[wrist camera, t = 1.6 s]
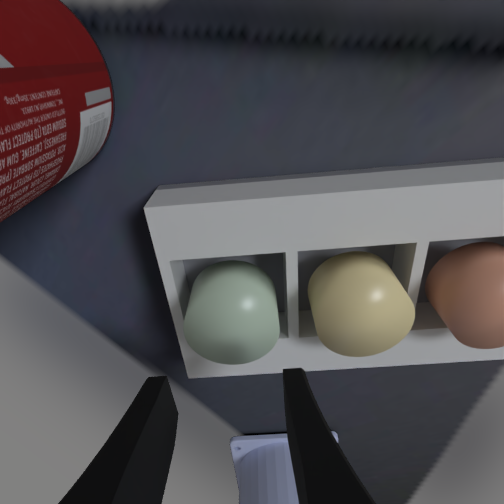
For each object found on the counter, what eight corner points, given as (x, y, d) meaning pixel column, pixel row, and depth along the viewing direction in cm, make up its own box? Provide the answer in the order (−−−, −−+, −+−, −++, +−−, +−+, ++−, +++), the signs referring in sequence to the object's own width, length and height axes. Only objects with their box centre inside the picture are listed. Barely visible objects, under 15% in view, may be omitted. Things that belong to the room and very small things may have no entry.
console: (480, 324, 20) (509, 358, 18) (195, 342, 21) (188, 378, 18) (539, 154, 15) (590, 172, 13) (158, 185, 16) (143, 207, 13)
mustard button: (387, 316, 17) (407, 353, 15) (307, 322, 17) (315, 359, 15) (398, 247, 15) (422, 279, 13) (307, 254, 15) (316, 286, 13)
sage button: (277, 324, 17) (281, 361, 15) (198, 329, 17) (192, 367, 15) (273, 257, 15) (277, 289, 13) (184, 263, 15) (174, 296, 13)
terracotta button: (500, 309, 17) (536, 346, 15) (418, 315, 17) (442, 351, 15) (527, 238, 15) (573, 268, 13) (433, 245, 15) (463, 276, 13)
